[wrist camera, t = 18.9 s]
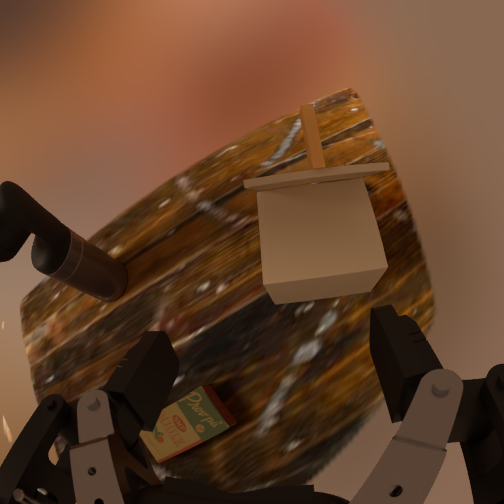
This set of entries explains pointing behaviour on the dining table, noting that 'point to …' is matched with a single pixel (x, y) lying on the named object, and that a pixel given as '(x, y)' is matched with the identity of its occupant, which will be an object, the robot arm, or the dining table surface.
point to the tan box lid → (314, 162)
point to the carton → (188, 423)
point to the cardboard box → (319, 241)
